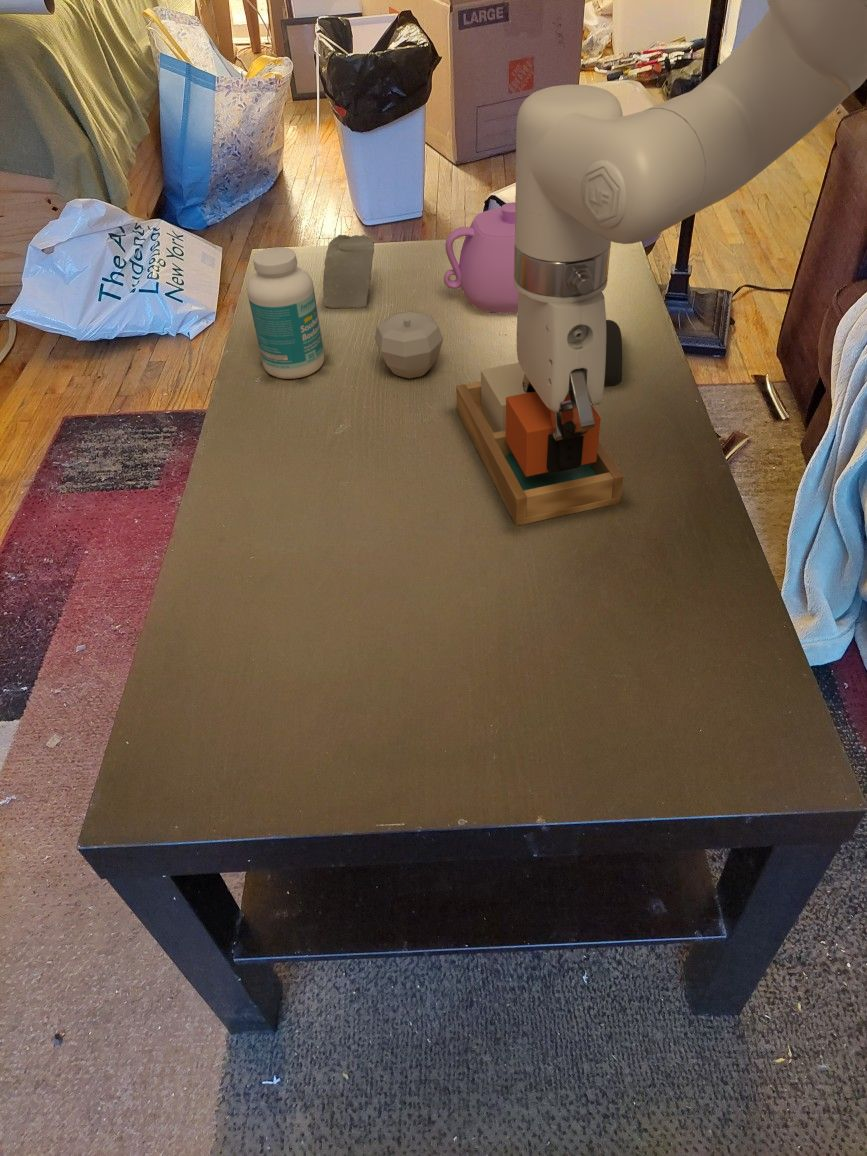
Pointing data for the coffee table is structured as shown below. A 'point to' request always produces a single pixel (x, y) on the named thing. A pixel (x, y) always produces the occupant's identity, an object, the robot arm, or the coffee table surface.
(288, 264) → the pill bottle
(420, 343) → the apple
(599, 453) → the holder
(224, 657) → the coffee table surface
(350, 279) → the mineral specimen
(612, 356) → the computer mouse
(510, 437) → the orange block
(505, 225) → the teapot
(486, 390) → the beige block
